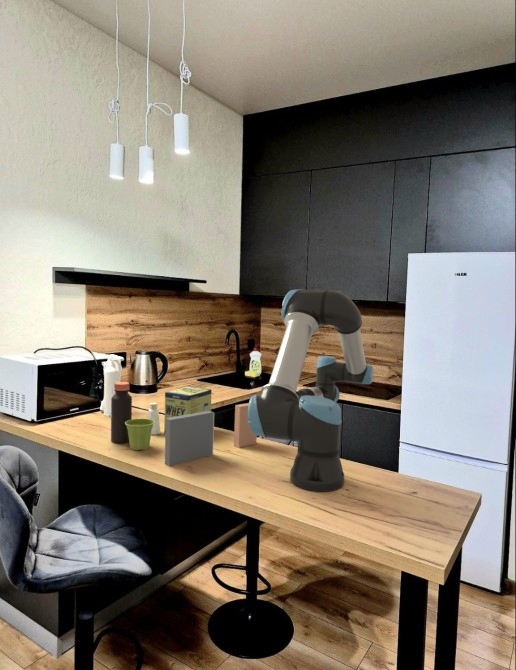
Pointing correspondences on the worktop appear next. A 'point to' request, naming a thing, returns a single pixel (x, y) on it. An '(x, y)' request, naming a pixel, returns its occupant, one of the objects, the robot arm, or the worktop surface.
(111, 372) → the white spray bottle
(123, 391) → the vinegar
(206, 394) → the protein box
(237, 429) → the stub
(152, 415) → the pepper shaker
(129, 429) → the plant pot
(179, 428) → the board
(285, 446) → the worktop surface
